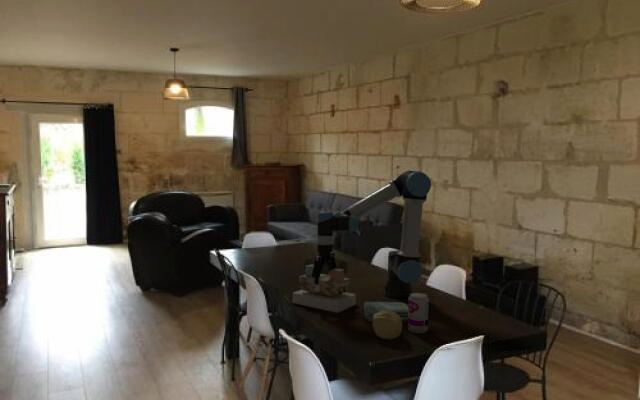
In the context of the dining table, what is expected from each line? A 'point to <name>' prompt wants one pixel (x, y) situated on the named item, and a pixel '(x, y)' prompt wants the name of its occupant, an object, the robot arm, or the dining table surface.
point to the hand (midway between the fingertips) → (324, 288)
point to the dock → (325, 300)
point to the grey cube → (309, 270)
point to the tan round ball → (387, 324)
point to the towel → (395, 307)
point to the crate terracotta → (337, 274)
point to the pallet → (324, 285)
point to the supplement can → (418, 313)
